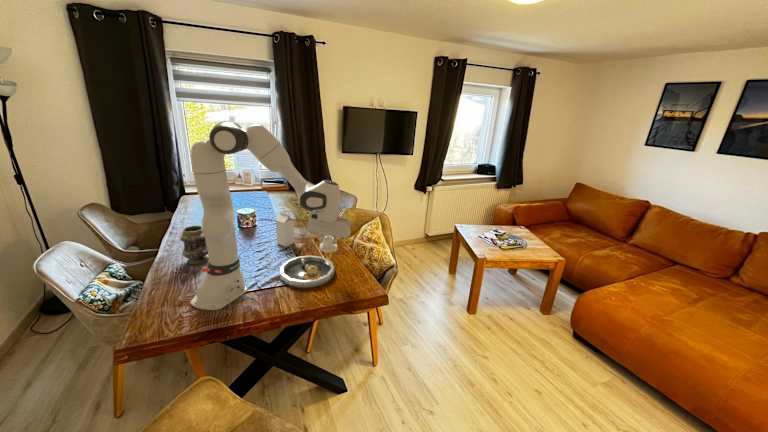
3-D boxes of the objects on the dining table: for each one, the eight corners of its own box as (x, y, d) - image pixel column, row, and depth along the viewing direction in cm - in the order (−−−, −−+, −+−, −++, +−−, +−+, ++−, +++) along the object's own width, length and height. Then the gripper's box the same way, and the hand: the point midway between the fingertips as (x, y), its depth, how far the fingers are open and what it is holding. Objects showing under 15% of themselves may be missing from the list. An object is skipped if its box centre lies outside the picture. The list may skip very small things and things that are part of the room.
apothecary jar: (207, 253, 163) (203, 222, 157) (214, 262, 155) (210, 229, 149) (181, 259, 155) (175, 227, 149) (187, 269, 147) (181, 235, 141)
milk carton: (285, 247, 176) (283, 216, 170) (277, 243, 180) (275, 213, 173) (294, 243, 182) (293, 213, 176) (286, 239, 186) (285, 210, 179)
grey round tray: (322, 292, 137) (322, 278, 135) (269, 283, 141) (268, 269, 139) (340, 265, 161) (341, 253, 159) (294, 257, 165) (294, 245, 163)
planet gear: (333, 253, 141) (334, 242, 139) (316, 250, 142) (316, 239, 140) (339, 246, 148) (340, 236, 147) (323, 243, 150) (323, 233, 148)
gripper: (353, 216, 141) (351, 243, 145) (311, 210, 144) (311, 236, 149) (349, 220, 135) (347, 249, 140) (305, 214, 138) (305, 241, 143)
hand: (328, 242), depth 144 cm, fingers closed on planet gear, 5 cm apart
